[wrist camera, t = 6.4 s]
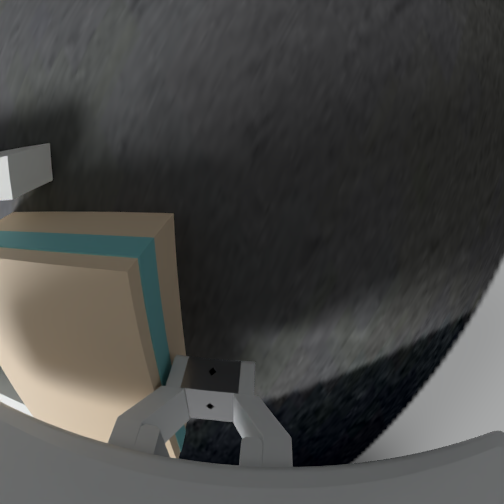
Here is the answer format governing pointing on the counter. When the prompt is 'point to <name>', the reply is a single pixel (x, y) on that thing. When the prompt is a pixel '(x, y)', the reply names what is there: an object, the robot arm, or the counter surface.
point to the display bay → (8, 188)
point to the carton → (89, 314)
